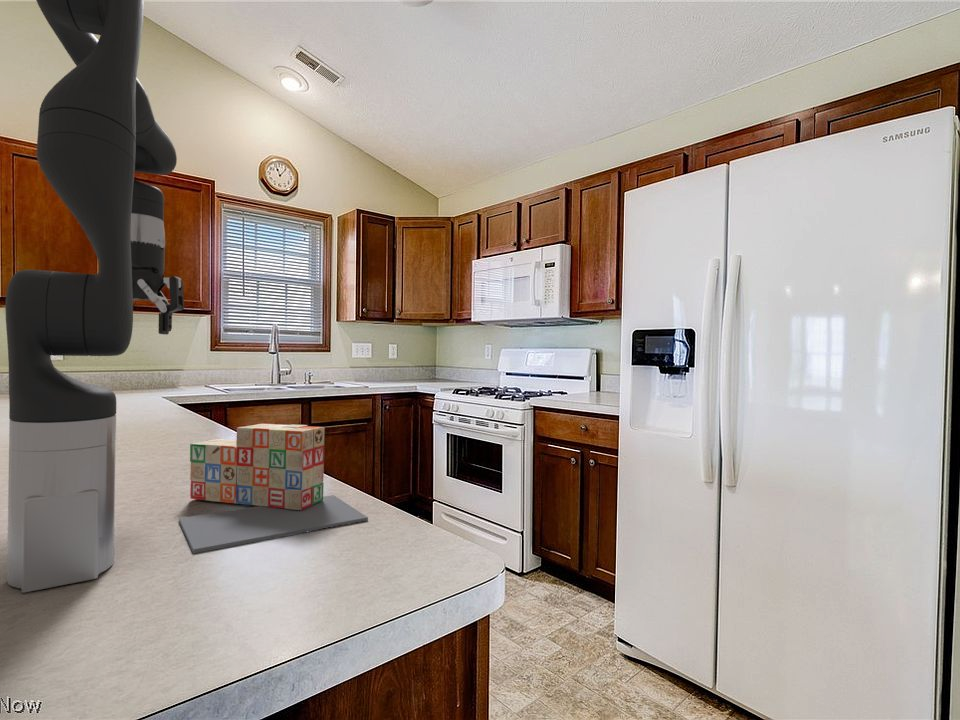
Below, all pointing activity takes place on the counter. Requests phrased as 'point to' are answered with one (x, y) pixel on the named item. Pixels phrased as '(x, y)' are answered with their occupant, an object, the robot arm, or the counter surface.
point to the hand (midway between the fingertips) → (138, 333)
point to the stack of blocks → (261, 467)
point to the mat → (264, 523)
